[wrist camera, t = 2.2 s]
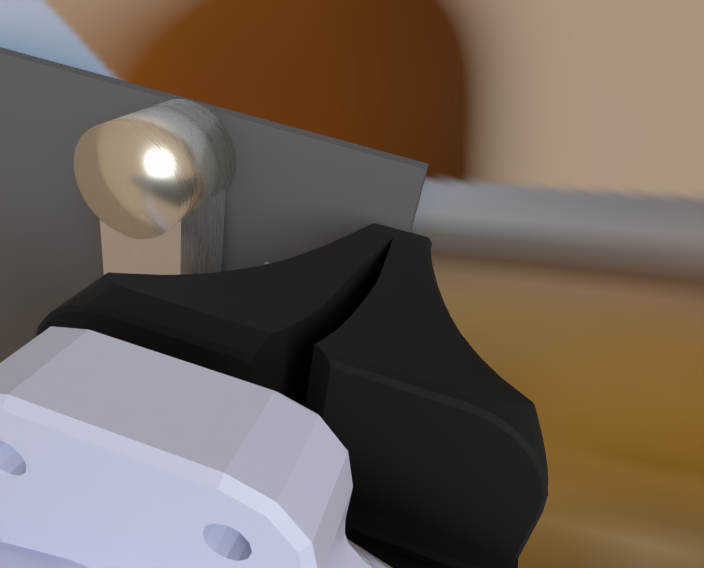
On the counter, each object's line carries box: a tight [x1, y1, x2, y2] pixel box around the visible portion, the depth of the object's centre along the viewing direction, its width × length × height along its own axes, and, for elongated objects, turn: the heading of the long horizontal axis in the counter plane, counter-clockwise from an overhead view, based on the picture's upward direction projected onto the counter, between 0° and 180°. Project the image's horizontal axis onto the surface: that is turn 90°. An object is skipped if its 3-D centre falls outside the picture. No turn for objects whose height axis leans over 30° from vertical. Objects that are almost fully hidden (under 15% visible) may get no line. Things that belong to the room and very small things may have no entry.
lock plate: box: [0, 48, 428, 363], centre depth 17 cm, size 16×15×1 cm
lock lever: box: [74, 99, 235, 275], centre depth 15 cm, size 14×4×2 cm, turn 170°
